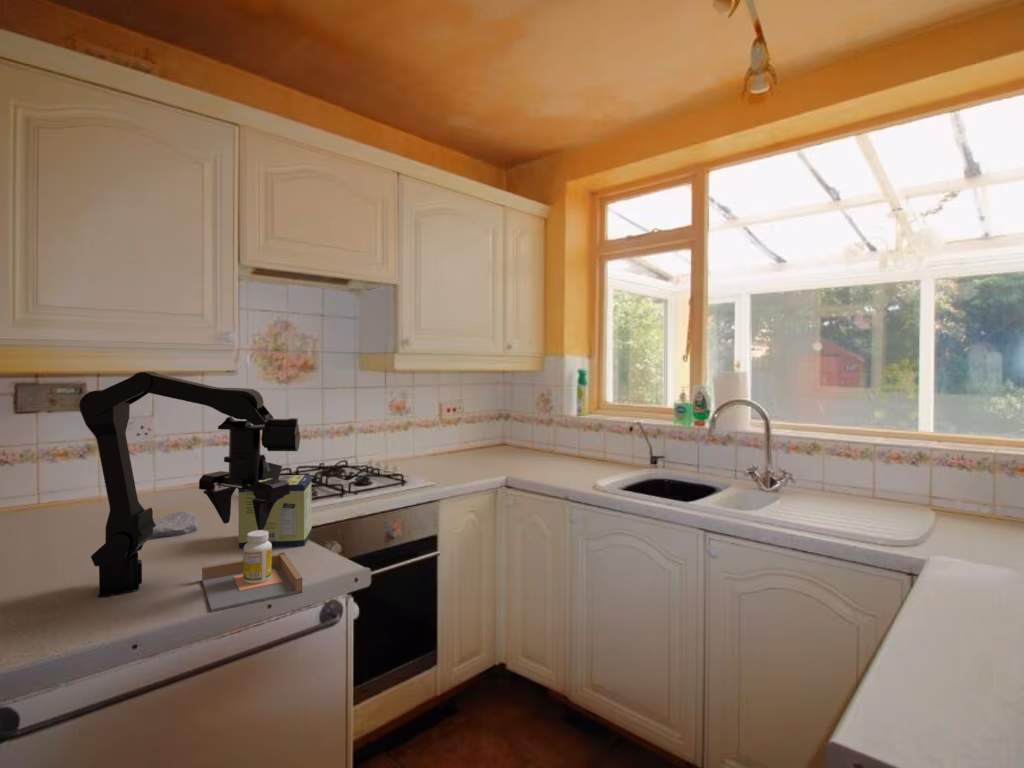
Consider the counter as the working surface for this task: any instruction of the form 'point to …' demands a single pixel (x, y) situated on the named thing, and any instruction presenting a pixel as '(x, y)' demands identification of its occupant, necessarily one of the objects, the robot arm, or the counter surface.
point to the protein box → (280, 514)
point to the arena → (232, 591)
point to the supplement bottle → (257, 557)
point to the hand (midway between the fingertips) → (243, 526)
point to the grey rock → (174, 524)
